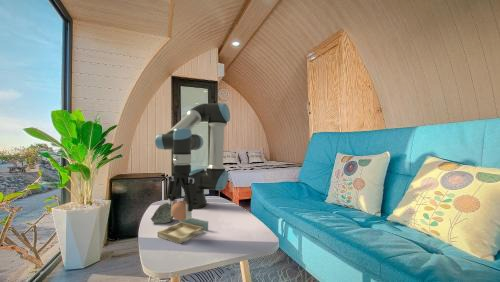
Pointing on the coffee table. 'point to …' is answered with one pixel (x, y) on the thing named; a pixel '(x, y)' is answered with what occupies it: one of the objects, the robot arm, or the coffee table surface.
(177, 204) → the ball
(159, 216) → the stone
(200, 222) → the wall
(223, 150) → the robot arm
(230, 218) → the coffee table surface
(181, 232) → the tray
